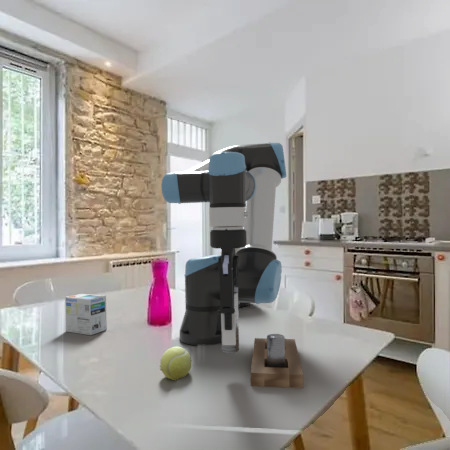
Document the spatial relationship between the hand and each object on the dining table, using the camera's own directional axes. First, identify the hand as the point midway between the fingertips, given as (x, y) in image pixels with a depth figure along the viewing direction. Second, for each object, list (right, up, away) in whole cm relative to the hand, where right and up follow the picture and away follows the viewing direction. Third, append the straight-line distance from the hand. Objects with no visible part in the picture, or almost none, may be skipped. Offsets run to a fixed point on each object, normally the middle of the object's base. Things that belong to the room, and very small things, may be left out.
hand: (230, 340), depth 76 cm
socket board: (+10, -8, +5) cm, 14 cm away
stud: (0, -2, 0) cm, 2 cm away
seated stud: (+9, -7, 0) cm, 12 cm away
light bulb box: (-44, -9, +36) cm, 57 cm away
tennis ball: (-11, -8, +1) cm, 14 cm away
